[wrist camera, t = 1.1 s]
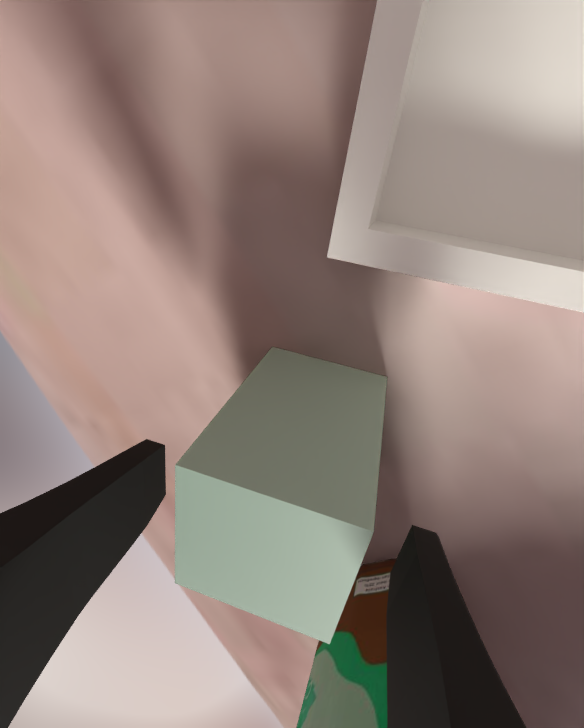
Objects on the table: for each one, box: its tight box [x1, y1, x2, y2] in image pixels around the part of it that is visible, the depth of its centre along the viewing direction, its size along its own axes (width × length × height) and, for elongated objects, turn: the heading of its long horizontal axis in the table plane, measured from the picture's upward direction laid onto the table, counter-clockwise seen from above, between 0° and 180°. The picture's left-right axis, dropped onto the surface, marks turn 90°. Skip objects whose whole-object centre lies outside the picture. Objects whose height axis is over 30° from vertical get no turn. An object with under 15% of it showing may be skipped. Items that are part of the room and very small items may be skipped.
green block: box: [175, 347, 387, 644], centre depth 12 cm, size 4×4×7 cm
